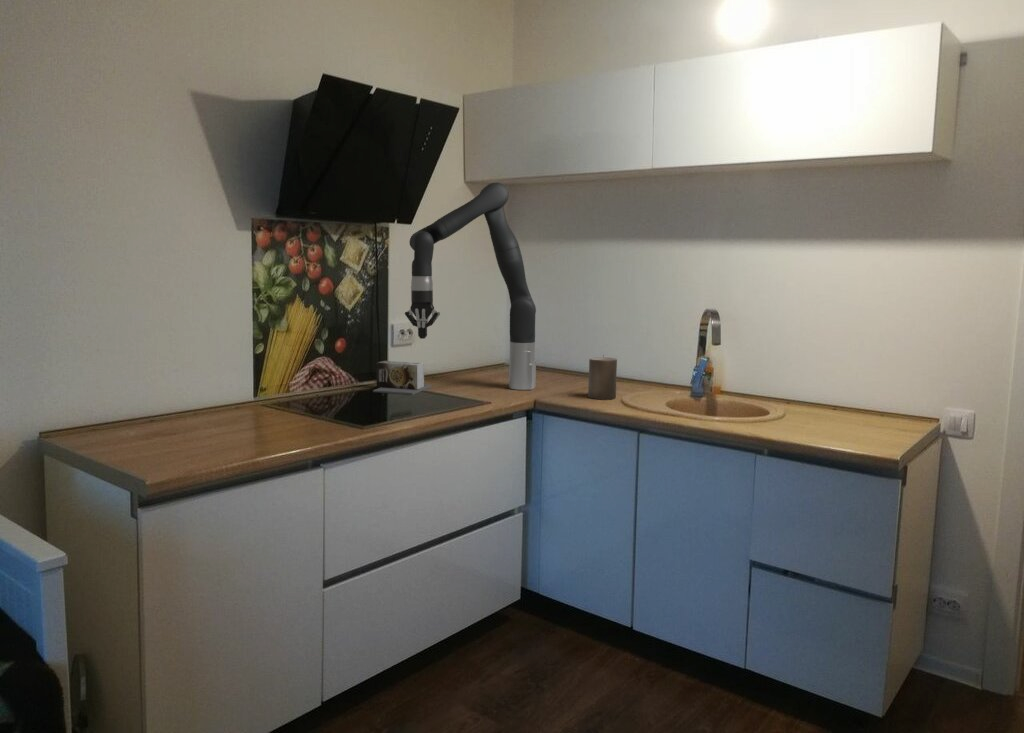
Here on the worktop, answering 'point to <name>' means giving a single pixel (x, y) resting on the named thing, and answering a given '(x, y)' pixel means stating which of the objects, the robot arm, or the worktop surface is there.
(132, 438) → the worktop surface
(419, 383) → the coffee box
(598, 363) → the pillar candle
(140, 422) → the worktop surface
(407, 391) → the mat
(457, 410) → the worktop surface
